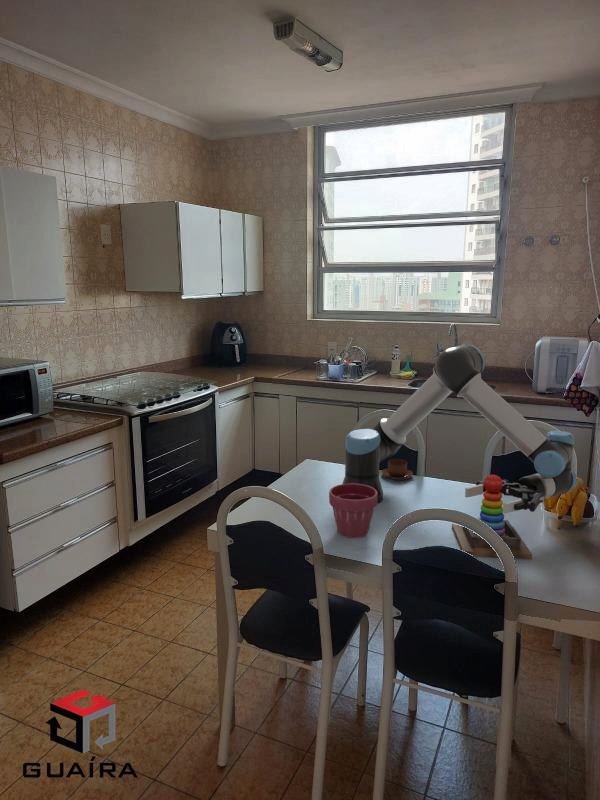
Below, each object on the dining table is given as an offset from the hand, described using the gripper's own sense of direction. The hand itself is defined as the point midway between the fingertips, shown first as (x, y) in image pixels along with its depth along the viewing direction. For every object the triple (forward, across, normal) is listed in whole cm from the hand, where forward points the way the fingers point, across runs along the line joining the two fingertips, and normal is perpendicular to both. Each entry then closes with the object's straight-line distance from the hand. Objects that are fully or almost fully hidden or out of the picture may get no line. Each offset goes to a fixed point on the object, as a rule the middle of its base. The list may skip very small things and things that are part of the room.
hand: (484, 500), depth 154 cm
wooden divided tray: (-3, 0, -14) cm, 14 cm away
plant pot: (+26, +26, -14) cm, 39 cm away
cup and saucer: (-18, +59, -14) cm, 63 cm away
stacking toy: (-3, 0, -12) cm, 13 cm away
